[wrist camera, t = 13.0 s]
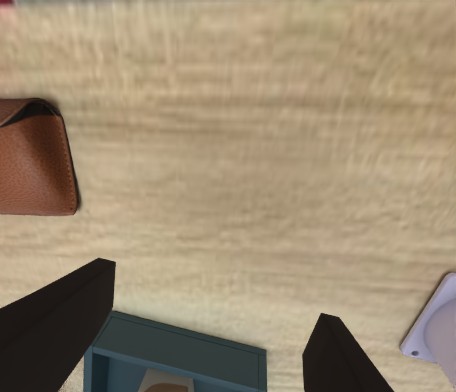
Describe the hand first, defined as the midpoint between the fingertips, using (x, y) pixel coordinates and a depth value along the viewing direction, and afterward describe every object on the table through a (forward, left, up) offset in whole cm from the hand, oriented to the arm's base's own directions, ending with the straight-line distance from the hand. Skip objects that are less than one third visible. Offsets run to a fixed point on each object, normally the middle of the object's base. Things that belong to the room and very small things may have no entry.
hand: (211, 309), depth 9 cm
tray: (+2, +20, -10) cm, 23 cm away
